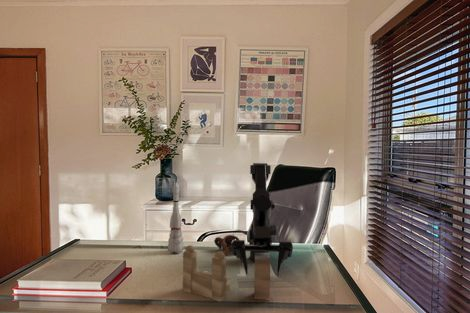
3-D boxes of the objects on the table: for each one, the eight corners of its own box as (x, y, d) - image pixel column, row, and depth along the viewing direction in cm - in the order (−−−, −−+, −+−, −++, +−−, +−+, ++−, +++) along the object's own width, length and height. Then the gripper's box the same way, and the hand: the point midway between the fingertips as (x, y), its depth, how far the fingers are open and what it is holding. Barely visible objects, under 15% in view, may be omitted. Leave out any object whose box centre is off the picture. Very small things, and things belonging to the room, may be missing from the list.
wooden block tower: (199, 281, 108) (199, 239, 108) (235, 290, 101) (235, 246, 101) (182, 290, 101) (183, 245, 101) (220, 301, 94) (220, 253, 94)
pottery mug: (241, 249, 145) (244, 236, 141) (235, 265, 137) (238, 251, 133) (216, 241, 147) (218, 228, 143) (208, 256, 139) (210, 242, 135)
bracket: (254, 293, 100) (254, 252, 100) (269, 293, 100) (269, 252, 99) (254, 299, 95) (254, 257, 95) (269, 300, 95) (270, 257, 95)
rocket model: (164, 251, 140) (164, 181, 139) (179, 248, 144) (180, 181, 143) (171, 256, 134) (172, 183, 133) (187, 252, 138) (188, 182, 137)
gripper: (232, 214, 102) (229, 261, 91) (292, 215, 101) (296, 263, 90) (233, 233, 110) (231, 278, 99) (289, 234, 109) (292, 280, 98)
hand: (262, 274), depth 96 cm, fingers open, 9 cm apart
